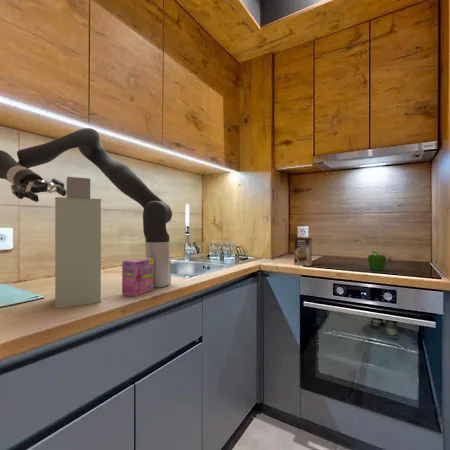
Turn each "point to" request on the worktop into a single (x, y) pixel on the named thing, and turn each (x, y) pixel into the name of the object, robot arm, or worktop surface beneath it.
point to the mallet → (77, 187)
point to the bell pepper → (376, 261)
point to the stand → (77, 251)
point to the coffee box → (303, 251)
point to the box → (137, 276)
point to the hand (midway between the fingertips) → (51, 196)
